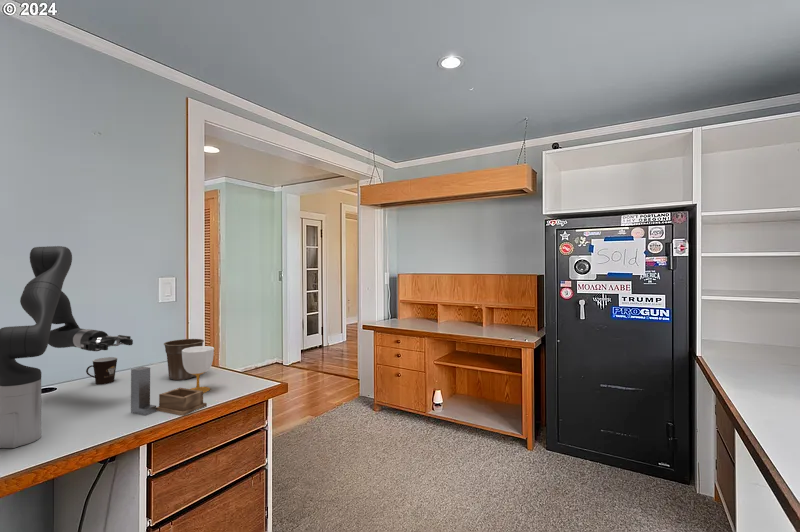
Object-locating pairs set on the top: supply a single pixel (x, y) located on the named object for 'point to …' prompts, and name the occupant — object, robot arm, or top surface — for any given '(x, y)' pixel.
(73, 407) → the top surface
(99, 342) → the robot arm
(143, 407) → the bracket
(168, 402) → the box
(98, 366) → the coffee mug
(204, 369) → the cup
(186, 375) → the plant pot
